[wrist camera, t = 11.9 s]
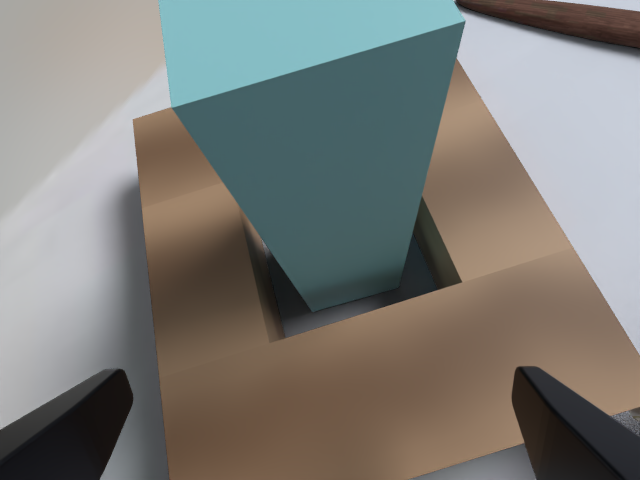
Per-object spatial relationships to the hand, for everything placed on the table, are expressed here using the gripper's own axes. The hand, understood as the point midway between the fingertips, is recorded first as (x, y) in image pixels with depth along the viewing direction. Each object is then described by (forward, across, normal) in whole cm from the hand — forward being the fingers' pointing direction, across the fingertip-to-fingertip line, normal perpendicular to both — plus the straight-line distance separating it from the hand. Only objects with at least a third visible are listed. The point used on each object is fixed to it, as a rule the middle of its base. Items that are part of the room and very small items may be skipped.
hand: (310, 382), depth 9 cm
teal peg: (+9, 0, +1) cm, 9 cm away
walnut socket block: (+9, 0, +1) cm, 9 cm away
